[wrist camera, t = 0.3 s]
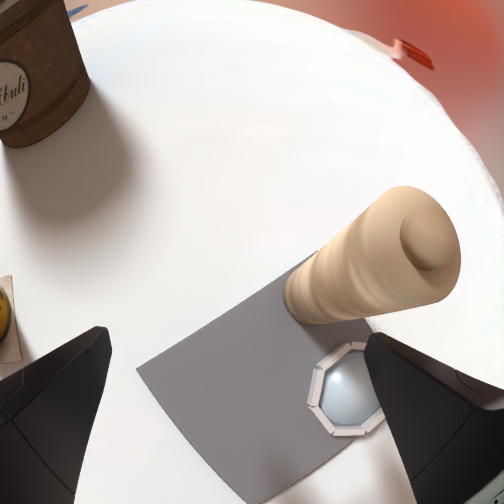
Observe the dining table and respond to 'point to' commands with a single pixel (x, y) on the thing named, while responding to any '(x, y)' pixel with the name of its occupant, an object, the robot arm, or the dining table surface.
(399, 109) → the dining table surface
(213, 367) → the baseplate
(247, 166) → the dining table surface
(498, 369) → the dining table surface
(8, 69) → the wooden container
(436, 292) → the beige wooden pepper mill
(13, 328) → the condiment
